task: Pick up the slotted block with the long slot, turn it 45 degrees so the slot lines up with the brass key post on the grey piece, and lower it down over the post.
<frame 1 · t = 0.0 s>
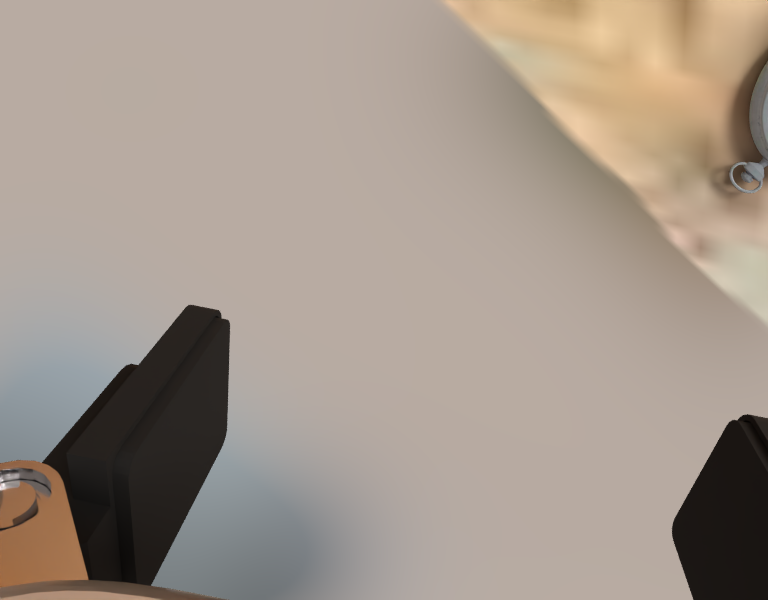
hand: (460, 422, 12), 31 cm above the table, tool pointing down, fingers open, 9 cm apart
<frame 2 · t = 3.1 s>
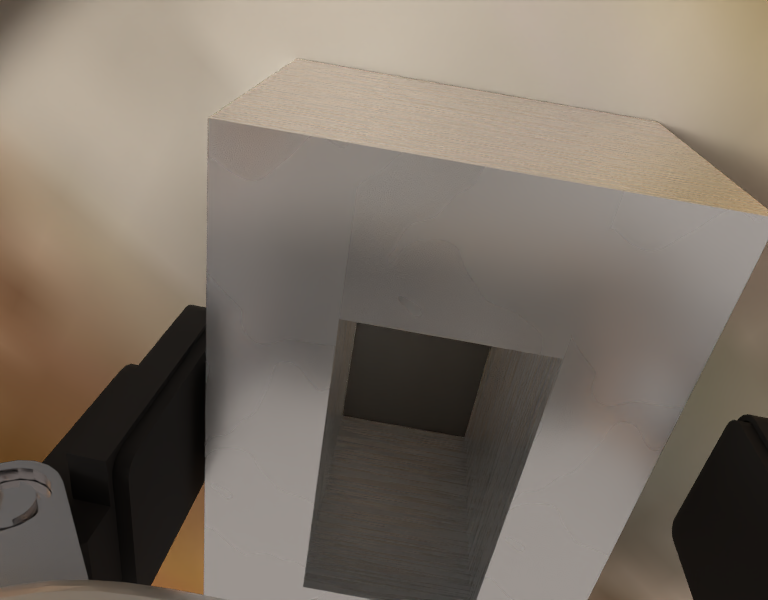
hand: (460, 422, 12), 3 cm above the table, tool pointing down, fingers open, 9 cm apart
slotted block: (424, 329, 15), on the table
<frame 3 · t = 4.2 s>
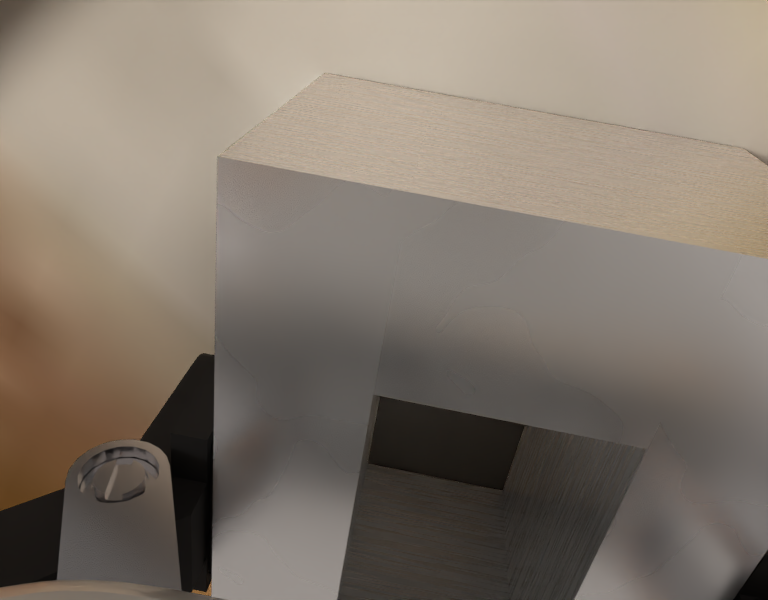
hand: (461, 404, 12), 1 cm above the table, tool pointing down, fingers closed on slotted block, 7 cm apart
slotted block: (461, 374, 13), on the table, touching gripper
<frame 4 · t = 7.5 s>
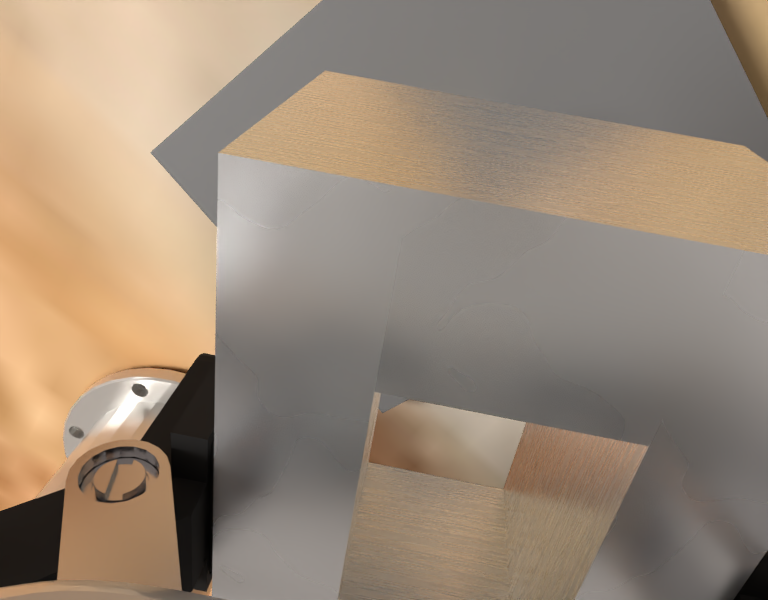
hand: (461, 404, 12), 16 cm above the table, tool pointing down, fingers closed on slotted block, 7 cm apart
slotted block: (462, 373, 13), point 15 cm above the table, touching gripper
grey piece: (461, 160, 26), on the table
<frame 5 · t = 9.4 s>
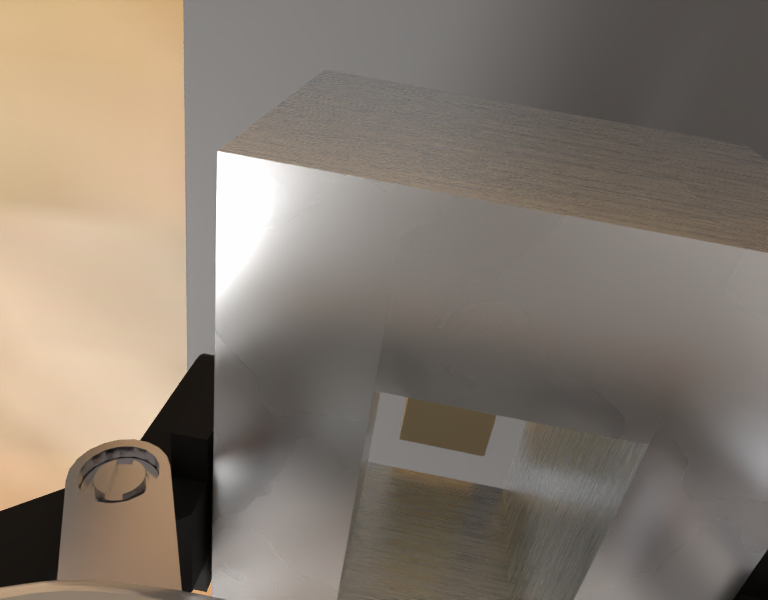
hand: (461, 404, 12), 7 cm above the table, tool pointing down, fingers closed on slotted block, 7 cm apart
slotted block: (462, 372, 13), point 6 cm above the table, touching gripper
grey piece: (465, 253, 18), on the table
when the fingers open (3 cm above the table, at t = 10.8 s): slotted block stays where it is, resting on grey piece.
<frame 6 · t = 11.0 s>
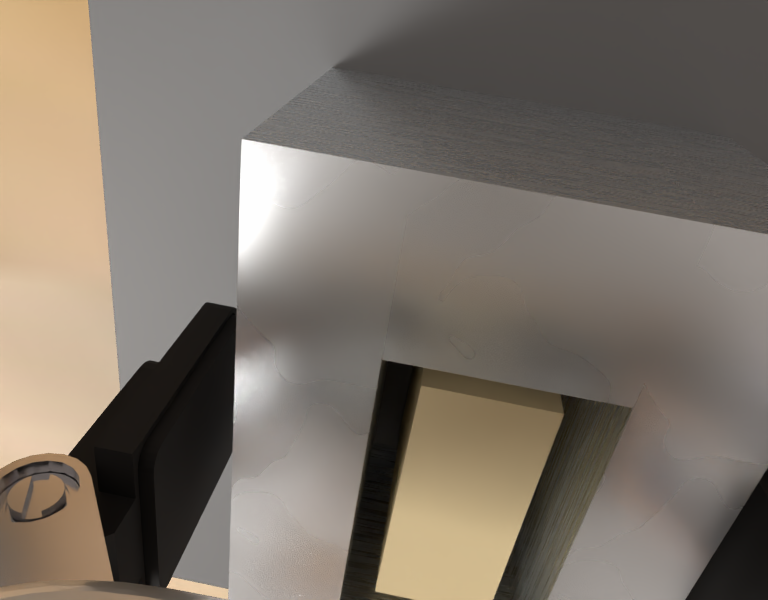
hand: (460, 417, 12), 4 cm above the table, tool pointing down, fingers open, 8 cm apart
slotted block: (463, 354, 14), point 1 cm above the table, touching grey piece
grey piece: (463, 318, 15), on the table
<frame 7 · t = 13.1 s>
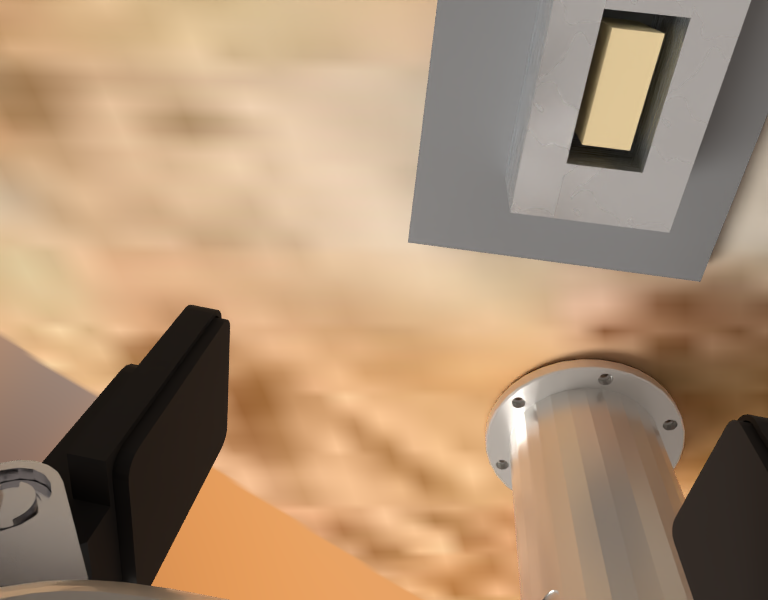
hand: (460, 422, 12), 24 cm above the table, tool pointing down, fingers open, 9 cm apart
slotted block: (601, 72, 29), point 1 cm above the table, touching grey piece
grey piece: (595, 66, 30), on the table
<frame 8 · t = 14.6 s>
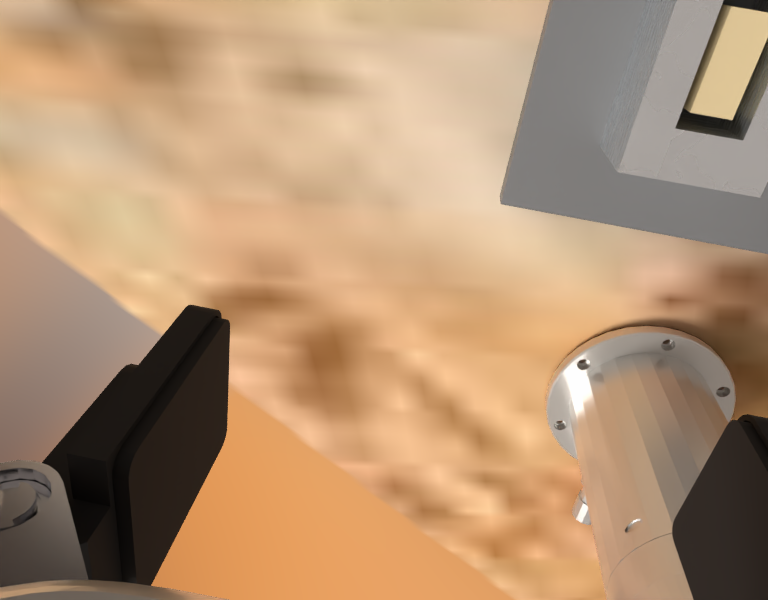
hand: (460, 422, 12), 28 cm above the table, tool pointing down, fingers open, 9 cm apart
slotted block: (700, 52, 32), point 1 cm above the table, touching grey piece
grey piece: (691, 48, 33), on the table
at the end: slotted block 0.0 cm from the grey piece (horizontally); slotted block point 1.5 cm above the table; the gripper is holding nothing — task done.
